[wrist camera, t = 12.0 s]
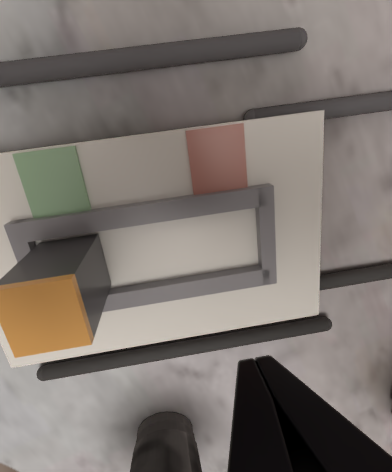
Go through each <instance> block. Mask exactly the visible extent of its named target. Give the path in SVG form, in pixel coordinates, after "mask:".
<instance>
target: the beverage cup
mask: <svg viewBox="0 0 392 472" xmlns="http://www.w3.org/2000/svg"><path fill="white" fill-rule="evenodd" d="M130 472H202V469H201V464H200V459H199V454H198V448H197V443H196V442H195V438H194V433H193V429H192V424H191V422H190V421H189V419H187V418H186V417H185V416H183V415H181V414H178V413H174V412H163V413H157V414H155V415H152V416H150V417H148V418H147V419H146V420H144V421H143V422H142V424H141V425H140V427H139V429H138V433H137V441H136V445H135V448H134V452H133V457H132V463H131V469H130Z"/></svg>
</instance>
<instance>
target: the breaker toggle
mask: <svg viewBox="0 0 392 472" xmlns="http://www.w3.org/2000/svg"><path fill="white" fill-rule="evenodd" d="M110 287H111V280H110V276H109V273H108V269H107V265H106V261H105V257H104V253H103V249H102V245H101V241H100V237H99V234H93V235H86V236H80V237H73V238H66V239H60V240H53V241H46V242H40V243H38V244H37V245H36V246H35V247H34V248H33V249H32V250H31V251H30V252H29V253H28V254H27V255H26V256H25V257H24V258H22V259H21V260H20V261H19V262H18V263H17V264H16V265H15V266H14V267H13V268H12V269H11V270H10V271H9V272H8V273H6V274H5V275H4V276H3V277H2V278H1V279H0V325H1V327H2V329H3V331H4V334H5V336H6V338H7V341H8V343H9V345H10V348H11V350H12V352H13V355H14V357H15V358H18V357H24V356H29V355H35V354H41V353H47V352H53V351H58V350H64V349H70V348H76V347H82V346H88V345H92V343H93V340H94V337H95V334H96V330H97V327H98V324H99V321H100V318H101V315H102V312H103V309H104V306H105V303H106V300H107V297H108V293H109V290H110Z"/></svg>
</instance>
